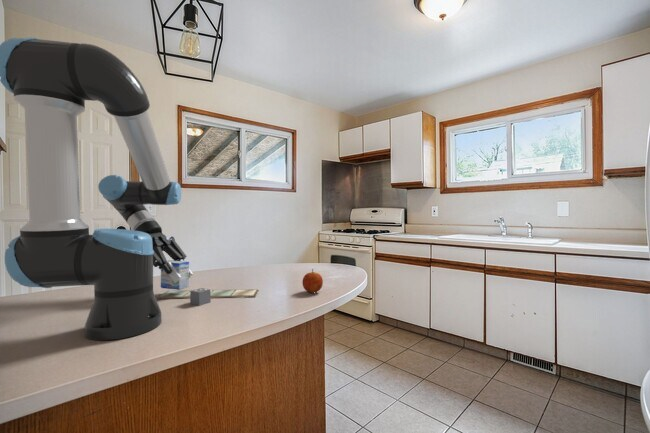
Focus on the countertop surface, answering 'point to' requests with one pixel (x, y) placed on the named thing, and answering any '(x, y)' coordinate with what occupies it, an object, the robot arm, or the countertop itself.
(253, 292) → the board
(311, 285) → the fruit
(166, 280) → the medicine box
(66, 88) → the robot arm
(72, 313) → the countertop surface
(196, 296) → the grey toy brick
